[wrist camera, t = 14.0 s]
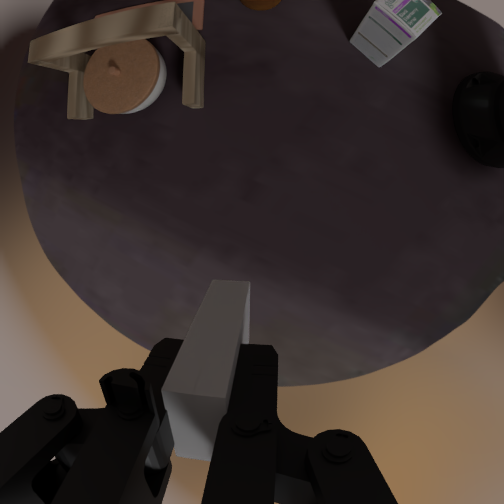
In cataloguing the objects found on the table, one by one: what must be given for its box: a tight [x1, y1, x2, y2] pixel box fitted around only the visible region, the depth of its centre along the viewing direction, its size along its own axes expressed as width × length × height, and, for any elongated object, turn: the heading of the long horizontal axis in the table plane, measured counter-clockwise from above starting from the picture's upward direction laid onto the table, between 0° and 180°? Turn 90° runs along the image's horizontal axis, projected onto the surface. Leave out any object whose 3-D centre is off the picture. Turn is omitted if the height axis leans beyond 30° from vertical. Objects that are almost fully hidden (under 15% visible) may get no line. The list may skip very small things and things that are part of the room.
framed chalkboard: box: [95, 0, 204, 30], centre depth 36 cm, size 18×6×1 cm, turn 89°
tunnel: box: [28, 2, 205, 120], centre depth 33 cm, size 19×10×14 cm, turn 89°
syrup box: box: [350, 0, 442, 67], centre depth 29 cm, size 6×6×14 cm
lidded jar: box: [83, 39, 167, 114], centre depth 35 cm, size 11×11×9 cm
